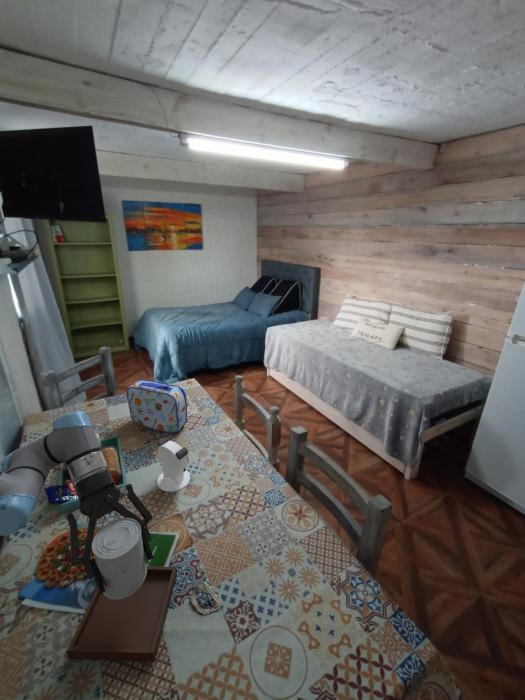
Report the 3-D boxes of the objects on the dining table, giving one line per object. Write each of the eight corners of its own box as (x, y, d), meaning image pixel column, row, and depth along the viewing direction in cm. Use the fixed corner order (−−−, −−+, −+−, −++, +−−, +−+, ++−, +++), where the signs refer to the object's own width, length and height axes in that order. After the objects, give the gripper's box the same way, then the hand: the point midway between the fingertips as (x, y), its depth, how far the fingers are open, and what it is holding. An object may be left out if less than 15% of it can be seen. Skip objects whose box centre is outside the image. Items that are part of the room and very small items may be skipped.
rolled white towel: (102, 564, 73) (94, 525, 69) (146, 550, 77) (140, 512, 72) (98, 607, 65) (88, 565, 61) (147, 590, 68) (141, 549, 64)
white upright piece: (198, 477, 114) (196, 443, 108) (173, 497, 105) (170, 461, 99) (175, 464, 120) (172, 430, 115) (150, 482, 111) (146, 446, 106)
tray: (69, 659, 65) (66, 650, 64) (109, 573, 81) (107, 564, 80) (154, 661, 65) (153, 653, 64) (177, 574, 81) (176, 566, 80)
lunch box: (193, 425, 144) (191, 381, 136) (181, 438, 135) (178, 392, 127) (142, 414, 152) (137, 372, 144) (128, 426, 142) (121, 382, 134)
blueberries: (200, 579, 81) (199, 574, 80) (228, 591, 78) (228, 586, 77) (184, 606, 75) (184, 600, 74) (214, 621, 72) (214, 615, 71)
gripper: (33, 499, 62) (71, 617, 57) (142, 451, 77) (179, 541, 72) (33, 504, 68) (68, 612, 63) (135, 457, 82) (170, 542, 77)
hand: (127, 574), depth 67 cm, fingers closed on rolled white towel, 9 cm apart
